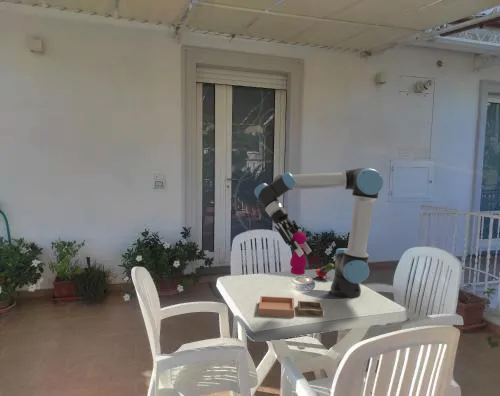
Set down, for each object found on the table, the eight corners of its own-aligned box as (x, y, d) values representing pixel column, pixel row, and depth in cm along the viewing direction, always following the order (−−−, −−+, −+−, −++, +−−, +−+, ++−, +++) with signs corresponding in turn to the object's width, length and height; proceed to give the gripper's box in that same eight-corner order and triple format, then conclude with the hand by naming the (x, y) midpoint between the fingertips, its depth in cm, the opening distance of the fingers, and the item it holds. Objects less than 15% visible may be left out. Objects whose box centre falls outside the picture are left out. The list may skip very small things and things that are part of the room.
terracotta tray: (293, 303, 186) (293, 297, 186) (294, 317, 171) (294, 310, 171) (260, 302, 188) (260, 296, 187) (258, 315, 172) (258, 308, 172)
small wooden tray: (320, 307, 183) (320, 302, 183) (322, 316, 172) (323, 310, 172) (297, 306, 184) (297, 300, 183) (298, 315, 173) (298, 309, 173)
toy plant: (326, 286, 228) (338, 274, 221) (311, 279, 226) (323, 267, 219) (325, 275, 234) (337, 263, 228) (311, 269, 232) (322, 257, 226)
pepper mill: (295, 269, 182) (297, 226, 180) (308, 272, 177) (311, 229, 175) (286, 272, 176) (288, 228, 174) (300, 276, 172) (302, 231, 170)
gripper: (269, 209, 173) (299, 252, 164) (293, 206, 188) (321, 245, 179) (259, 219, 177) (288, 262, 168) (283, 215, 191) (311, 255, 183)
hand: (305, 253), depth 174 cm, fingers closed on pepper mill, 6 cm apart
